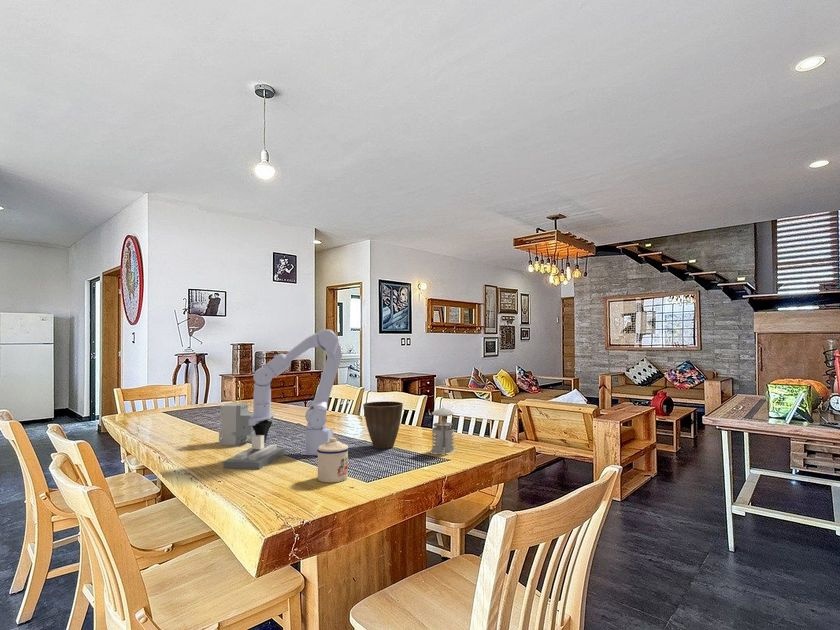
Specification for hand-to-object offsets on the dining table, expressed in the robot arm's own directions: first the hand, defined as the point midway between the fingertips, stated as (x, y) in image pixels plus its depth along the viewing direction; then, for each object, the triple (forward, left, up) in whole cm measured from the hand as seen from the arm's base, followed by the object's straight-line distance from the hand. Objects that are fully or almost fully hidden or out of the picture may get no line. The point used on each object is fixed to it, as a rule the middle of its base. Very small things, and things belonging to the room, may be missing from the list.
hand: (261, 443), depth 159 cm
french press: (-61, -16, -5) cm, 63 cm away
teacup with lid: (-32, +18, -5) cm, 37 cm away
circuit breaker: (+19, -21, -5) cm, 29 cm away
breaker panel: (0, +3, -5) cm, 6 cm away
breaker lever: (0, +3, -3) cm, 4 cm away
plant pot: (-38, -21, -5) cm, 44 cm away
